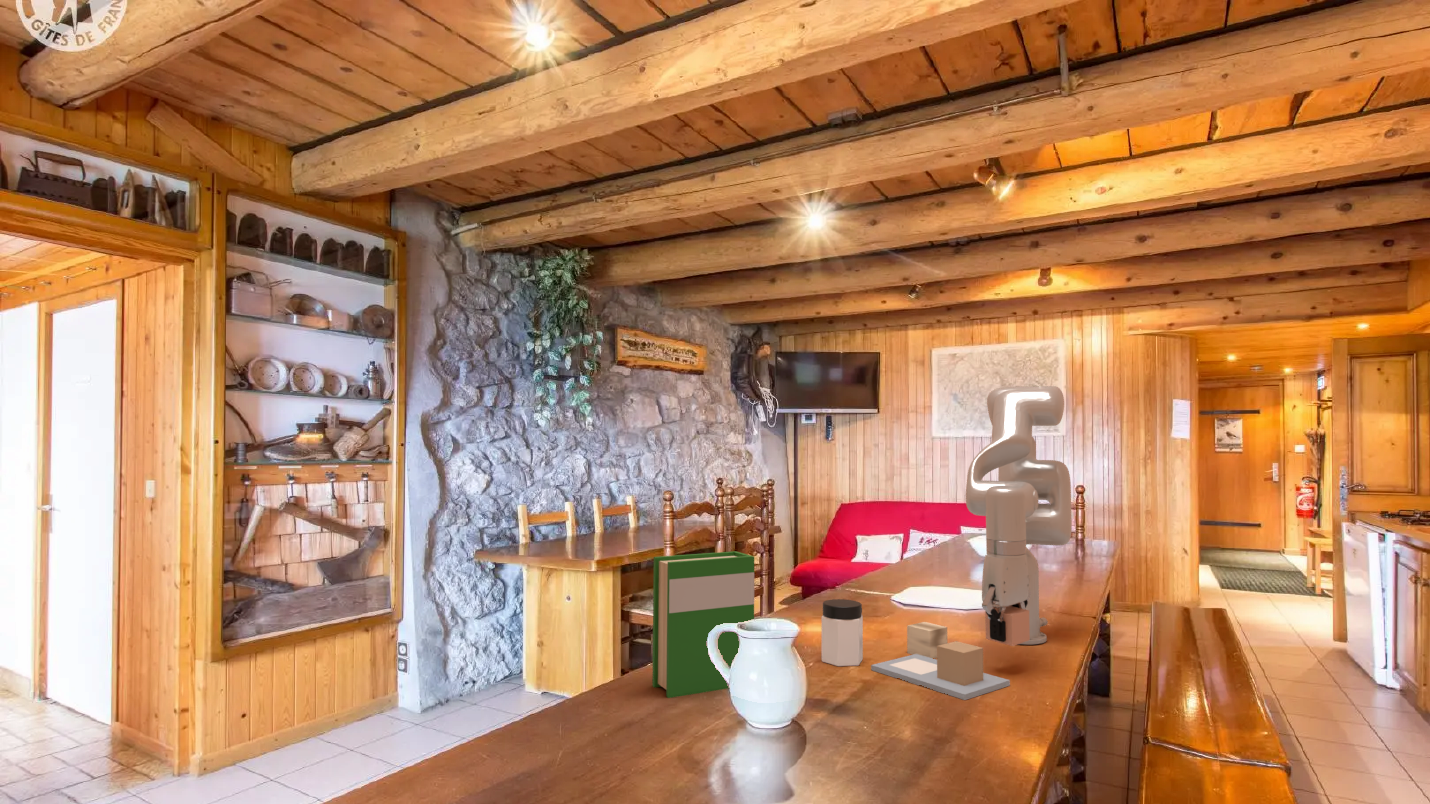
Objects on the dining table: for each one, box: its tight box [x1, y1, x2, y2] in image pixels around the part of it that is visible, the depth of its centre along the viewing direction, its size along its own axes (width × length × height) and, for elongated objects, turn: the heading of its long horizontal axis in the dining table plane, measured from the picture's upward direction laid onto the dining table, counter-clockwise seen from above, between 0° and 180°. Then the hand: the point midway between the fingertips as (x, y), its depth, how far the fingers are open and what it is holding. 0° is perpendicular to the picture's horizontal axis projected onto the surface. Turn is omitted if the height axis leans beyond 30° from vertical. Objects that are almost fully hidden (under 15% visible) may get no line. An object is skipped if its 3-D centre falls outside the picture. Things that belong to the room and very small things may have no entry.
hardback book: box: [651, 551, 755, 699], centre depth 146 cm, size 18×7×24 cm, turn 117°
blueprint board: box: [870, 640, 1011, 701], centre depth 151 cm, size 14×22×7 cm, turn 37°
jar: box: [821, 598, 864, 667], centre depth 162 cm, size 9×8×12 cm
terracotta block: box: [984, 606, 1030, 647], centre depth 156 cm, size 6×6×6 cm
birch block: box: [906, 621, 948, 659], centre depth 168 cm, size 6×6×6 cm
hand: (1007, 635), depth 156 cm, fingers closed on terracotta block, 6 cm apart
